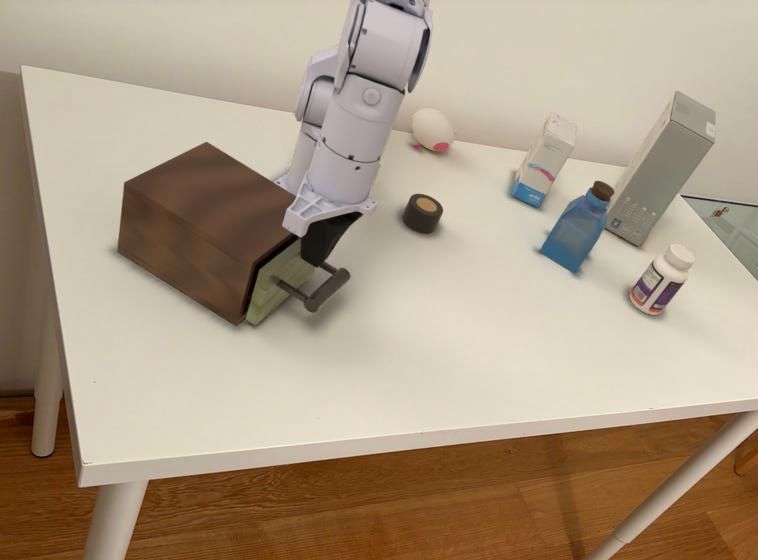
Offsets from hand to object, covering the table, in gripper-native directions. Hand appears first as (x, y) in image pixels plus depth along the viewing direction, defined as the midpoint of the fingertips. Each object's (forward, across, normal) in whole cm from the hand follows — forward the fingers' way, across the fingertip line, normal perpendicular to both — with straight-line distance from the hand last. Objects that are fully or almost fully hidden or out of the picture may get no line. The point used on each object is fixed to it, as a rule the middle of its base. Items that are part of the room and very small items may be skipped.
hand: (312, 260), depth 73 cm
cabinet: (+7, 0, +10) cm, 13 cm away
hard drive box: (+8, +63, -28) cm, 69 cm away
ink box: (+8, +53, -12) cm, 55 cm away
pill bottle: (+8, +41, -36) cm, 55 cm away
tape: (+7, +28, -3) cm, 29 cm away
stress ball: (+8, +49, +5) cm, 50 cm away
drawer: (+7, 0, +6) cm, 9 cm away
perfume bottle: (+8, +41, -22) cm, 47 cm away
